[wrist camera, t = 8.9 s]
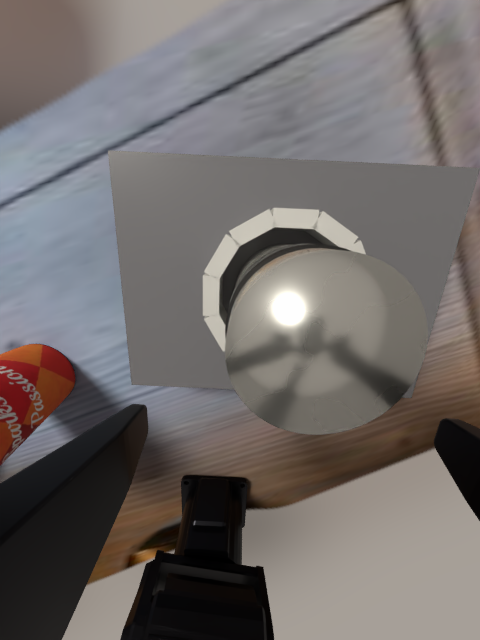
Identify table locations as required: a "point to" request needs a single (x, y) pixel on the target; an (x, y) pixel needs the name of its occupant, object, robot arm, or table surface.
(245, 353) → the lens
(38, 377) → the paper cup
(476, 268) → the table surface
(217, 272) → the camera body
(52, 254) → the table surface
